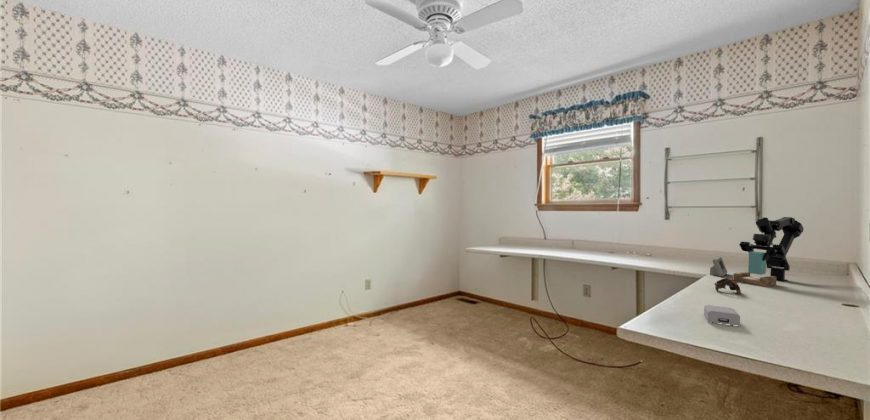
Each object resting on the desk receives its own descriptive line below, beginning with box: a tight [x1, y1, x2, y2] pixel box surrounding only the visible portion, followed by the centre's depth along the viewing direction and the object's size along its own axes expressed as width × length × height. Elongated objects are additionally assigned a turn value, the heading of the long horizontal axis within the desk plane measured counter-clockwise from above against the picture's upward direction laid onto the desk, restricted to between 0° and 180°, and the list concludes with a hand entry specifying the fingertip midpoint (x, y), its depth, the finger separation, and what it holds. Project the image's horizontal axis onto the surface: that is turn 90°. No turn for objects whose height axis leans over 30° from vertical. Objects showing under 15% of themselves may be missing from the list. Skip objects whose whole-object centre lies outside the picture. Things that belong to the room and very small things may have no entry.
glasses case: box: [747, 250, 767, 276], centre depth 199 cm, size 6×6×12 cm
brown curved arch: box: [714, 277, 742, 296], centre depth 180 cm, size 12×10×8 cm
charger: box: [703, 304, 741, 327], centre depth 138 cm, size 5×9×15 cm
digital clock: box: [709, 256, 728, 278], centre depth 223 cm, size 16×9×11 cm, turn 122°
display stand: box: [733, 271, 777, 288], centre depth 201 cm, size 12×14×4 cm
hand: (756, 259), depth 198 cm, fingers closed on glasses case, 5 cm apart
